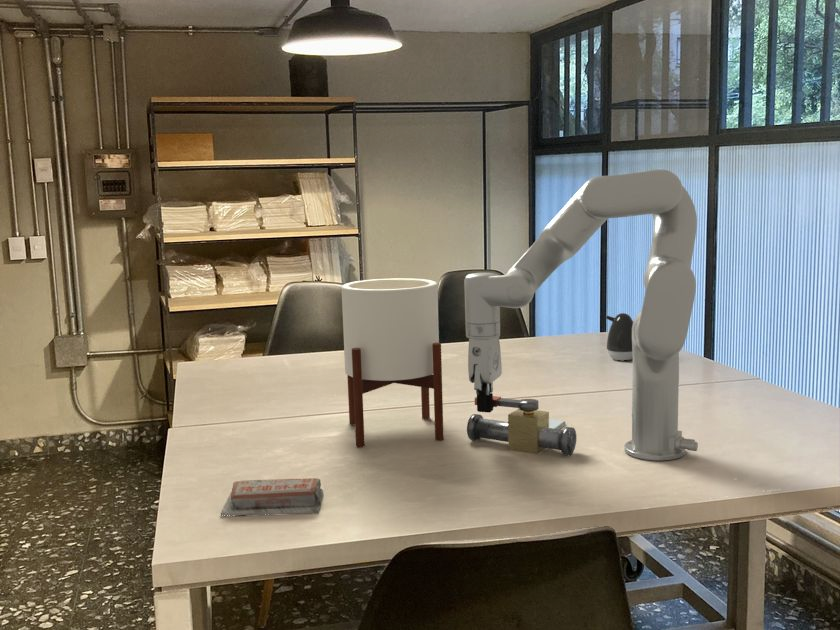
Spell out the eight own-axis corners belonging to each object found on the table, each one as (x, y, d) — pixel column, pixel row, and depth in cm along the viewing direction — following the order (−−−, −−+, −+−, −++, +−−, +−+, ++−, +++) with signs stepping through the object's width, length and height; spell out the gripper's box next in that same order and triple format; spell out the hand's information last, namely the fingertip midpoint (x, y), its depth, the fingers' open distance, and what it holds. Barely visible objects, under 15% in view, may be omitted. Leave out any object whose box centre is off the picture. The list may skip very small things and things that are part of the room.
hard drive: (534, 416, 210) (512, 429, 199) (565, 420, 206) (545, 434, 195) (534, 423, 210) (513, 436, 200) (565, 427, 206) (545, 441, 195)
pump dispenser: (604, 356, 282) (604, 310, 279) (637, 356, 280) (637, 310, 278) (607, 362, 272) (607, 315, 269) (640, 362, 270) (641, 315, 268)
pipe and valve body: (576, 450, 186) (576, 411, 184) (565, 458, 181) (565, 418, 180) (479, 436, 199) (479, 399, 197) (467, 443, 194) (466, 405, 192)
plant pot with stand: (449, 441, 195) (445, 286, 190) (352, 449, 192) (345, 292, 186) (432, 415, 217) (428, 276, 212) (344, 422, 214) (338, 280, 208)
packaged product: (323, 472, 164) (317, 490, 154) (324, 496, 165) (319, 516, 155) (229, 475, 164) (218, 494, 154) (231, 499, 165) (220, 519, 155)
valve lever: (541, 406, 188) (541, 399, 188) (534, 411, 184) (534, 404, 184) (481, 400, 195) (481, 394, 195) (473, 405, 191) (473, 398, 191)
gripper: (489, 336, 177) (491, 421, 180) (509, 324, 191) (510, 403, 194) (455, 335, 180) (457, 419, 183) (477, 323, 194) (479, 401, 197)
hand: (485, 411), depth 188 cm, fingers closed
